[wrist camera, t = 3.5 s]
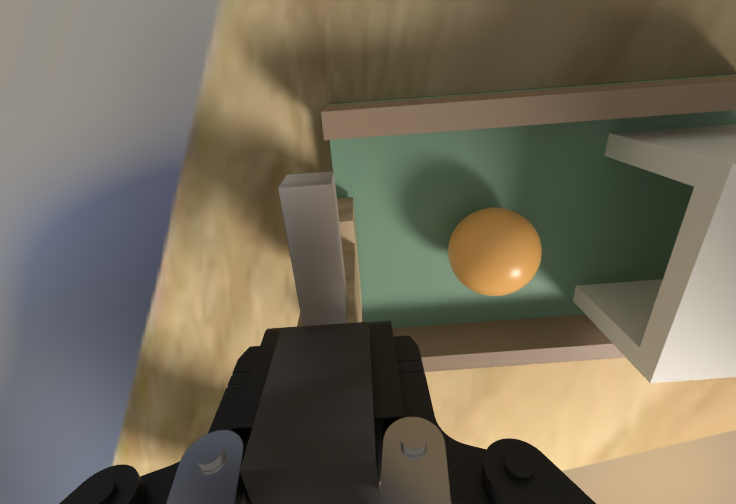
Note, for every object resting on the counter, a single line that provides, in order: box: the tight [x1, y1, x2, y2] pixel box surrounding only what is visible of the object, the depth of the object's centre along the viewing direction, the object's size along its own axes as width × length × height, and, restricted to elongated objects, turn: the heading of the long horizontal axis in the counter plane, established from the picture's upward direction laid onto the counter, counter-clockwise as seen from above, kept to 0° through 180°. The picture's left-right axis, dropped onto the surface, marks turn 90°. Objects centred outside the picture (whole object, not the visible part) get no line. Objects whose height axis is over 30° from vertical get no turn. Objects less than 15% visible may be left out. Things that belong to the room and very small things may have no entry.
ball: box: [448, 207, 542, 296], centre depth 17 cm, size 4×4×4 cm
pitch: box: [321, 74, 736, 383], centre depth 16 cm, size 18×13×7 cm
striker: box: [240, 171, 380, 504], centre depth 13 cm, size 2×11×12 cm, turn 3°
